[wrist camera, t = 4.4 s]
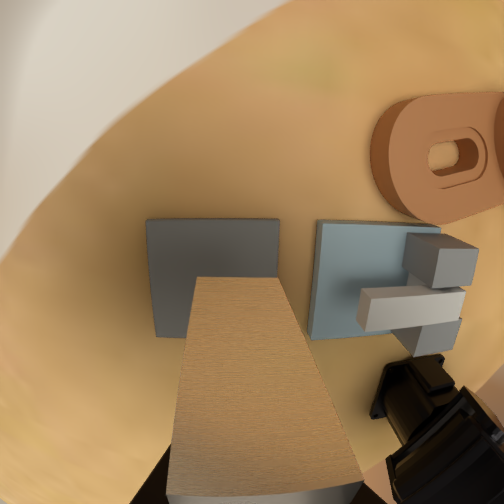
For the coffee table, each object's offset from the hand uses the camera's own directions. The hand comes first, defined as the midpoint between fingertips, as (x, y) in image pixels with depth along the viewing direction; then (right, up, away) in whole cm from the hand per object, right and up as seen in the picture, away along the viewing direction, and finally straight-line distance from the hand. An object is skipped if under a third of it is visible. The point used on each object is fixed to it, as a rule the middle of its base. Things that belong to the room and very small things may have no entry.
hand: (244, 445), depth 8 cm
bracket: (+16, +13, +12) cm, 24 cm away
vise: (+9, +4, +14) cm, 17 cm away
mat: (-2, +4, +13) cm, 13 cm away
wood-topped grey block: (0, +2, +5) cm, 5 cm away
